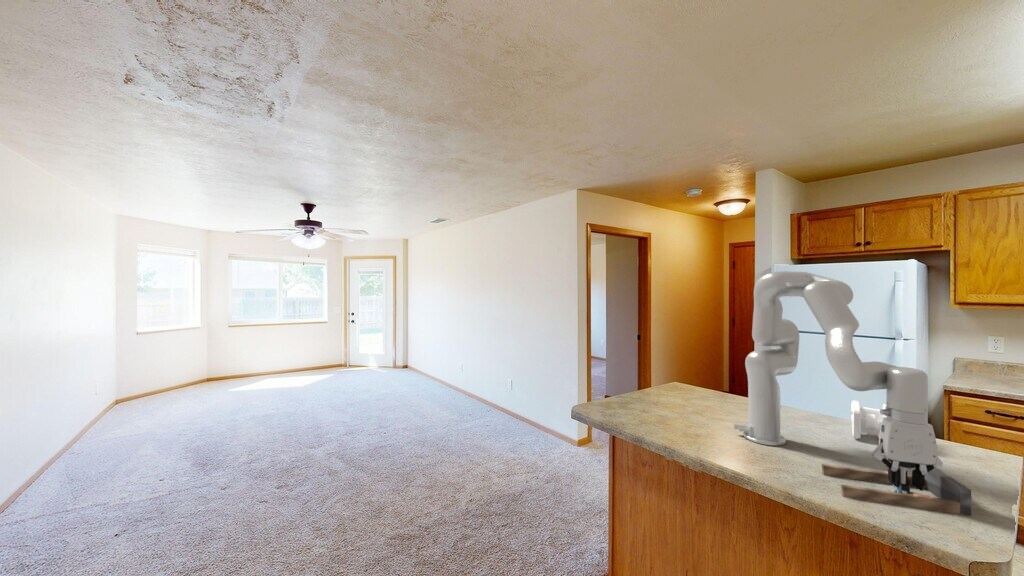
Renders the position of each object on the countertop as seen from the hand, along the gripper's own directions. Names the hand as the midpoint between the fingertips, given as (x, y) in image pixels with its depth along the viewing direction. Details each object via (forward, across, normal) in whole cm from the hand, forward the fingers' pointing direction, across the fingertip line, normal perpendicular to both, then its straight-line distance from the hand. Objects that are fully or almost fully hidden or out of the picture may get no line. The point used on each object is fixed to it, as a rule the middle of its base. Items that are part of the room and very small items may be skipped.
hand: (906, 485), depth 100 cm
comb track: (+2, -4, 0) cm, 4 cm away
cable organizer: (+3, +11, +44) cm, 46 cm away
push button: (+2, -1, 0) cm, 3 cm away
